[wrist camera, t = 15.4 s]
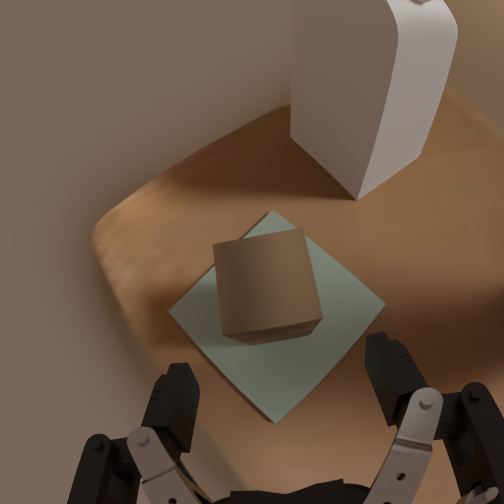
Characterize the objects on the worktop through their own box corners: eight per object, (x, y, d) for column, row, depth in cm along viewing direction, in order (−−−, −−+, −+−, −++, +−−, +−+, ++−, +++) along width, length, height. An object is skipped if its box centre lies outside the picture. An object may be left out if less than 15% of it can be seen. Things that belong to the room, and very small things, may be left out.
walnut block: (298, 279, 24) (302, 227, 15) (309, 335, 22) (323, 317, 13) (242, 289, 24) (212, 244, 15) (250, 345, 22) (222, 335, 13)
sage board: (273, 212, 28) (272, 209, 27) (384, 305, 23) (386, 303, 22) (170, 312, 25) (167, 311, 25) (275, 422, 20) (275, 423, 20)
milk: (356, 105, 33) (368, -67, 9) (419, 156, 28) (478, -32, 4) (289, 137, 31) (267, -78, 7) (356, 200, 27) (408, -69, 3)
